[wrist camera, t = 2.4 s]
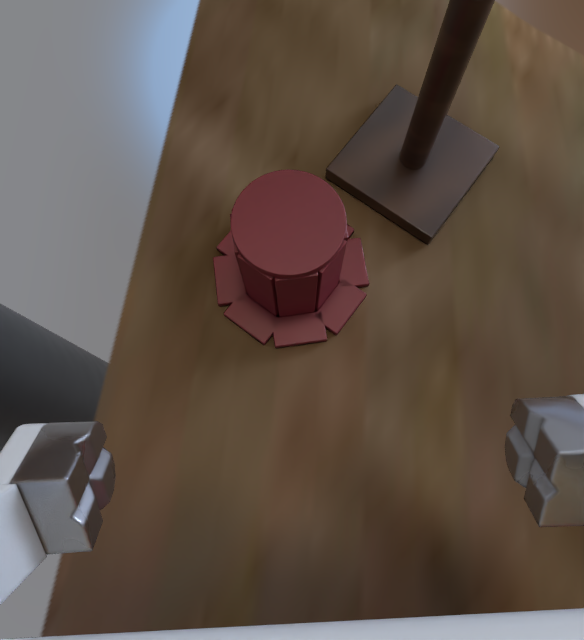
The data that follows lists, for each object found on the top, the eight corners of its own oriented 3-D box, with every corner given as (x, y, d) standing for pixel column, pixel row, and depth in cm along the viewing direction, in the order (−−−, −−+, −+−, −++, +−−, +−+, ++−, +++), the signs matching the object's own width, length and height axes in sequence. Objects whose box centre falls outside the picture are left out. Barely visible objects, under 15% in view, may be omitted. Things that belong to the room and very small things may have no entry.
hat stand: (324, 177, 38) (341, -2, 24) (393, 94, 40) (448, -118, 26) (427, 245, 37) (513, 98, 22) (494, 155, 39) (613, -34, 24)
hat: (185, 286, 36) (155, 238, 28) (276, 180, 38) (271, 108, 31) (305, 376, 34) (308, 350, 27) (394, 259, 37) (420, 203, 29)
